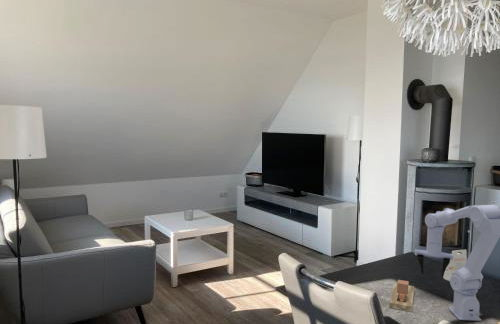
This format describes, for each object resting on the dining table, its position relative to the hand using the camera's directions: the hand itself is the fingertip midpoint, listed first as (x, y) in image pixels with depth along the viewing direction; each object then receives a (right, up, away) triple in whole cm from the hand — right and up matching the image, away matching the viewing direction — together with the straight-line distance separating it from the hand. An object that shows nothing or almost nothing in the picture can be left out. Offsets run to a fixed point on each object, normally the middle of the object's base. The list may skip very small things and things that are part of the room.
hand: (432, 273), depth 170 cm
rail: (-13, -10, -3) cm, 17 cm away
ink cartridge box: (+19, -8, +20) cm, 29 cm away
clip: (-15, -10, -6) cm, 19 cm away
